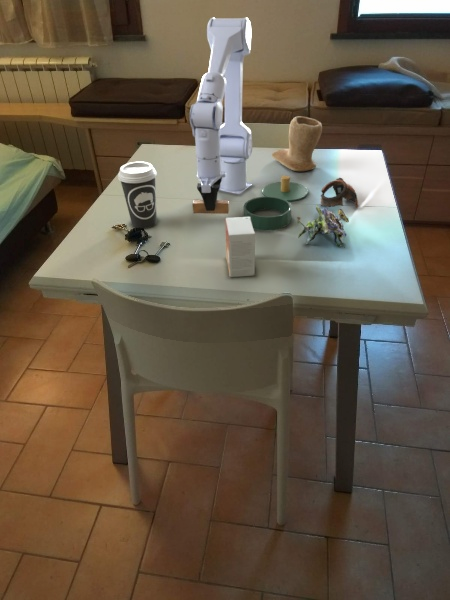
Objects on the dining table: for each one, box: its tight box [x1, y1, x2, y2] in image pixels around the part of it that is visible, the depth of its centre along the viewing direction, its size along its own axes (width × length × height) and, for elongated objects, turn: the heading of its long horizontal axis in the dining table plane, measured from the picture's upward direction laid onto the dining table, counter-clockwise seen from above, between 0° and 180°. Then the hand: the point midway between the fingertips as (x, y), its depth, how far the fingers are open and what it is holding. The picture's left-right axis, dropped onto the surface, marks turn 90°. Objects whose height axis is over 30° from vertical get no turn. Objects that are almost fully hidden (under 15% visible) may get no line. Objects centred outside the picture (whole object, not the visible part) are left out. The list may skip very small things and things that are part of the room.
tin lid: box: [261, 175, 309, 203], centre depth 136 cm, size 13×13×5 cm
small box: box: [224, 216, 256, 278], centre depth 104 cm, size 8×6×10 cm
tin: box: [242, 196, 293, 231], centre depth 124 cm, size 12×12×4 cm
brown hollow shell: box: [320, 177, 359, 210], centre depth 129 cm, size 12×10×8 cm
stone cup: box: [271, 115, 323, 172], centre depth 151 cm, size 15×12×15 cm
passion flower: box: [296, 204, 350, 248], centre depth 112 cm, size 11×11×12 cm
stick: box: [192, 199, 230, 215], centre depth 122 cm, size 9×2×3 cm, turn 85°
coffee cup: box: [117, 161, 158, 229], centre depth 122 cm, size 10×10×15 cm
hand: (211, 208), depth 122 cm, fingers closed on stick, 2 cm apart
